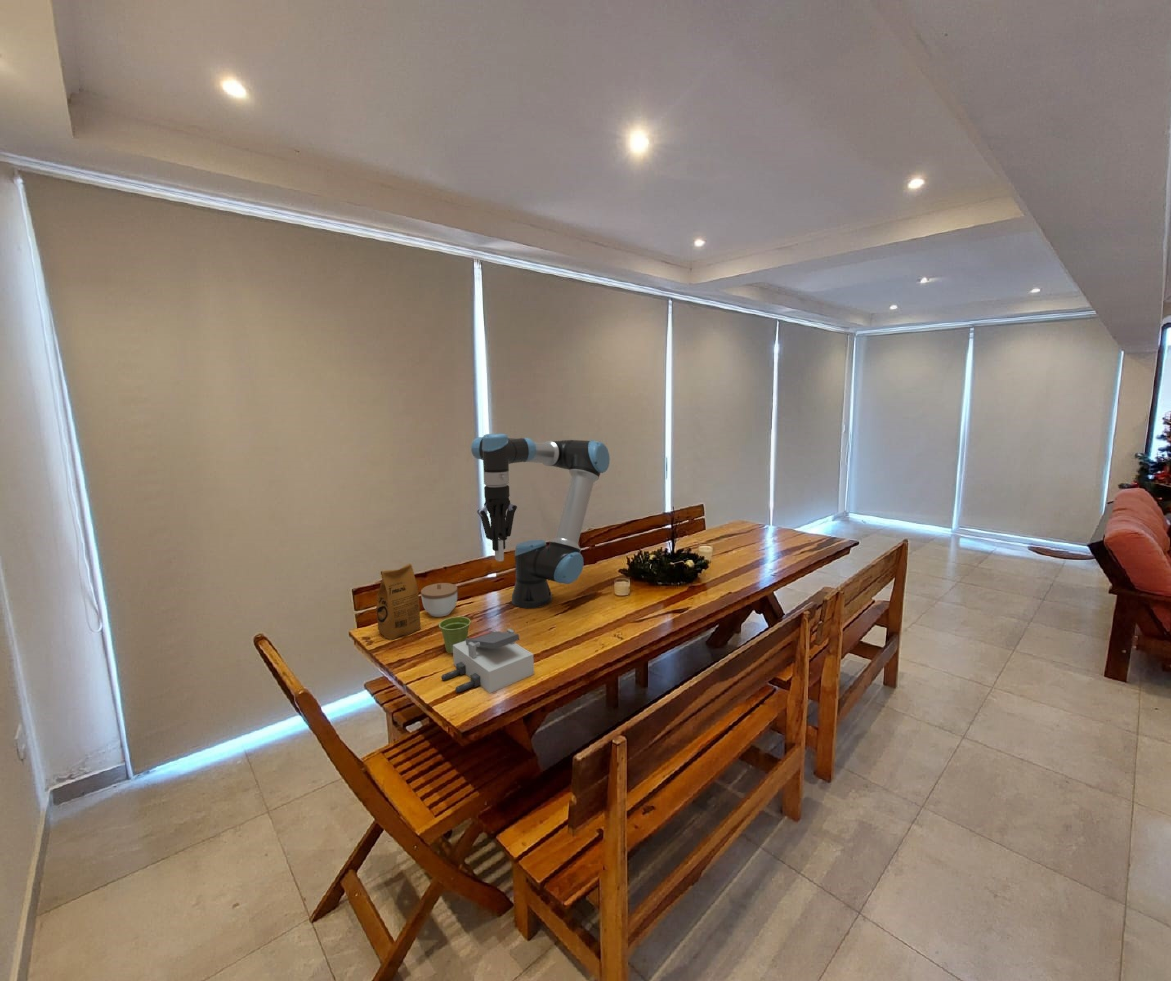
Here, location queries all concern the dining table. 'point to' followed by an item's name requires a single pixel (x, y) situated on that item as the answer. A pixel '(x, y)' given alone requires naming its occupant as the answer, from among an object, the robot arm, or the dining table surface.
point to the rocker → (493, 639)
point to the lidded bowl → (439, 599)
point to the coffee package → (398, 603)
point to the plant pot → (454, 631)
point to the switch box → (490, 665)
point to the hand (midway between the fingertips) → (499, 560)
